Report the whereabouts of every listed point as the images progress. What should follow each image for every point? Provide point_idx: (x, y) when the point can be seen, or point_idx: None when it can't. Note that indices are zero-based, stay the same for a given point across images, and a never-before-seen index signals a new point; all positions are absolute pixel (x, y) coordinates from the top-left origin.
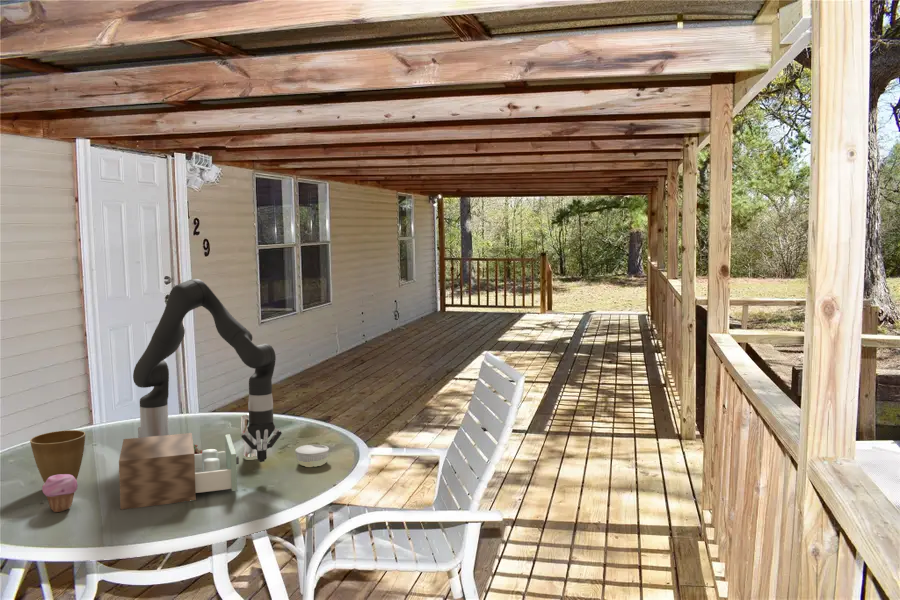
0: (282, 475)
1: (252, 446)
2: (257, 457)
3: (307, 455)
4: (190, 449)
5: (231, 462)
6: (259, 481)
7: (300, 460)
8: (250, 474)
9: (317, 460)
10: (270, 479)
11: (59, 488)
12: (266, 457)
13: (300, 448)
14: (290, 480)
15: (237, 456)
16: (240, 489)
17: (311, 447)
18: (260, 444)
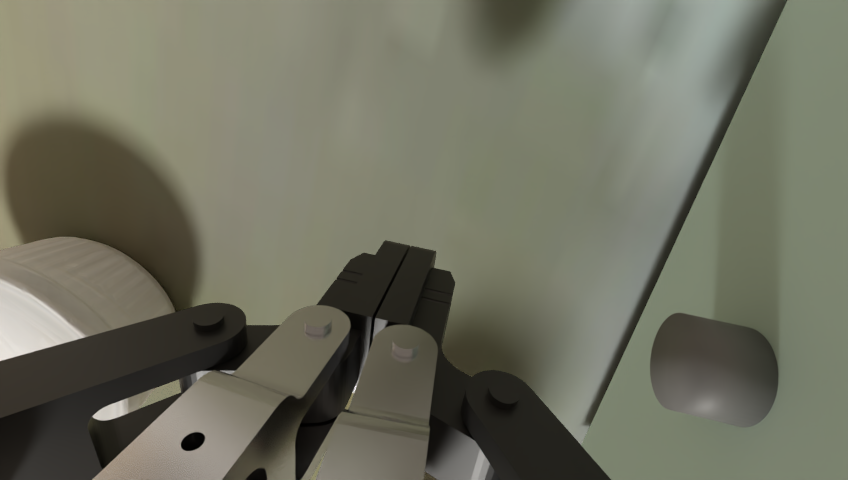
0: (293, 207)
1: (520, 421)
2: (452, 292)
3: (47, 286)
4: None
5: None
6: (471, 170)
7: (140, 312)
8: (479, 337)
9: (30, 247)
10: (386, 170)
11: None
12: (350, 261)
13: (94, 416)
14: (254, 64)
15: (701, 402)
16: (692, 49)
17: None
18: (361, 398)
